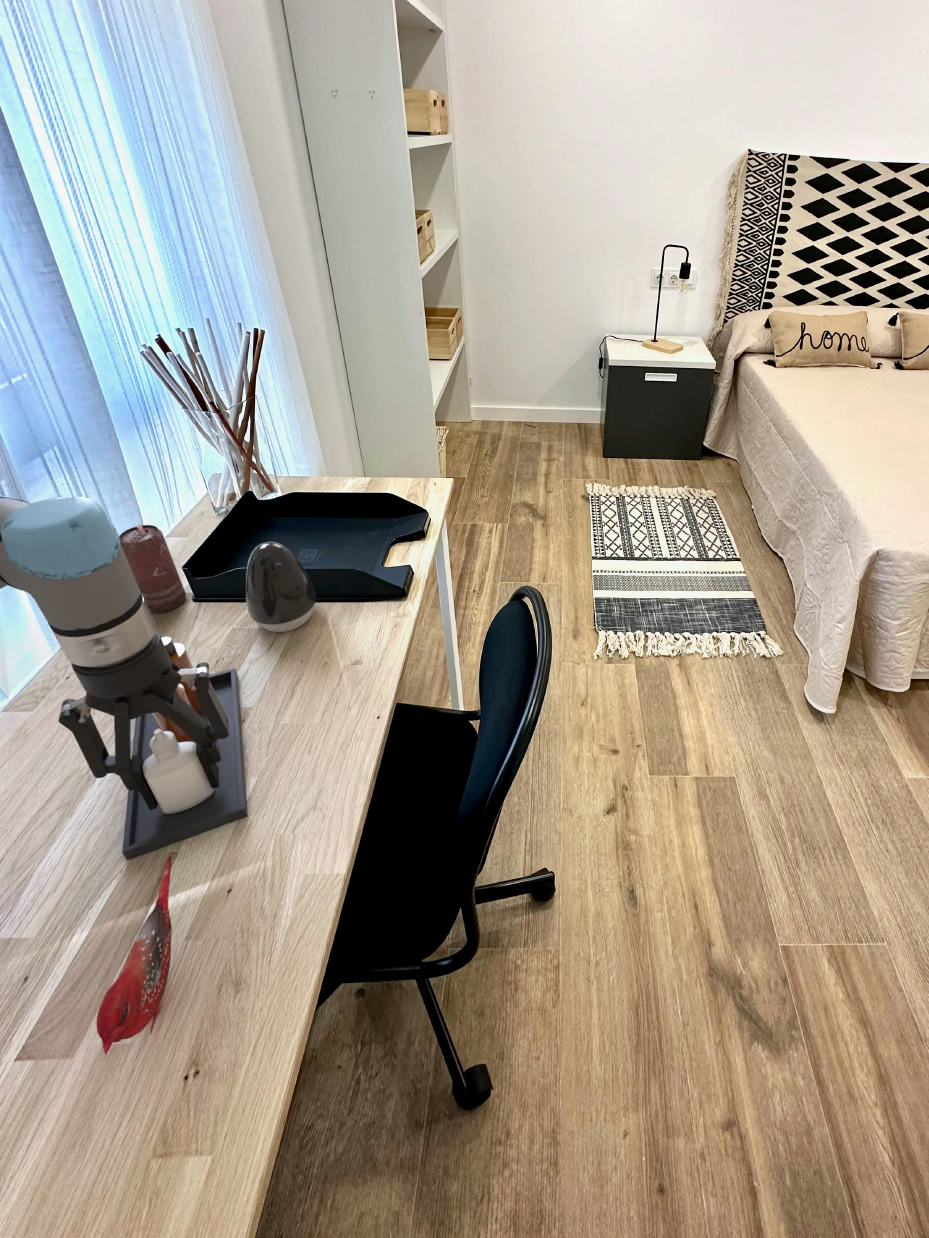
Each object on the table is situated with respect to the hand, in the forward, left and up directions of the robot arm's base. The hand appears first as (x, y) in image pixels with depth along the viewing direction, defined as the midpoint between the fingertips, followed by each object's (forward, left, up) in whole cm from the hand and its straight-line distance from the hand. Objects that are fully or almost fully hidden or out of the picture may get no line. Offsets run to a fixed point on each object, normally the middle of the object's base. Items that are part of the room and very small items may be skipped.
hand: (185, 788), depth 76 cm
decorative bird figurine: (+20, -2, -3) cm, 20 cm away
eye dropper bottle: (0, 0, -2) cm, 2 cm away
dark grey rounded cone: (-30, +14, -3) cm, 33 cm away
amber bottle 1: (-16, 0, -2) cm, 16 cm away
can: (-44, -4, -3) cm, 44 cm away
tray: (-7, 0, -2) cm, 7 cm away
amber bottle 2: (-8, 0, -2) cm, 8 cm away
